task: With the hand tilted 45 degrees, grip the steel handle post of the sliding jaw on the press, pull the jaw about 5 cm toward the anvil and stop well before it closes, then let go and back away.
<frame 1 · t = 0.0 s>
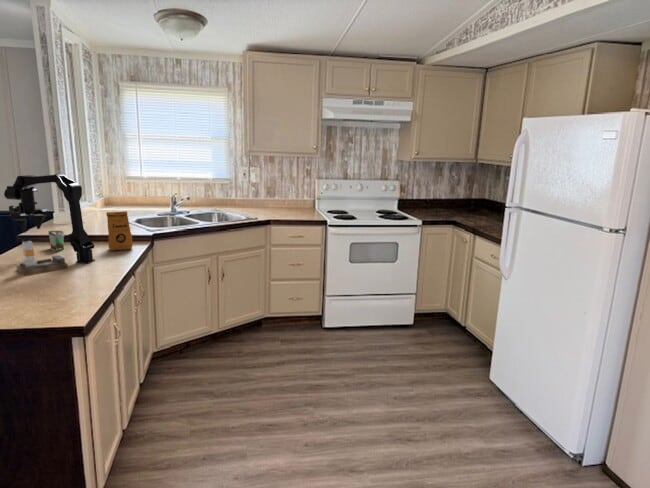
hand: (31, 230, 224), 15 cm above the countertop, tool pointing down, fingers open, 9 cm apart
food container: (59, 249, 247), on the countertop
coffee package: (121, 249, 251), on the countertop
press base: (30, 270, 207), on the countertop
sliding jaw: (28, 254, 205), point 8 cm above the countertop, slide at 0.0 cm
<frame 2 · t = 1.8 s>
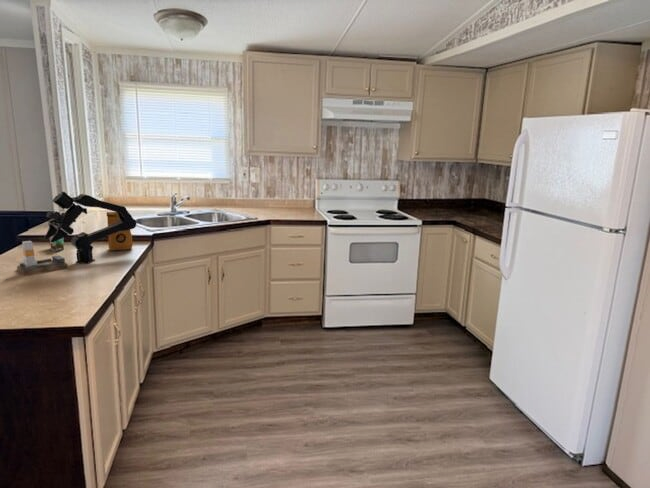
hand: (48, 240, 210), 14 cm above the countertop, tool tilted 45°, fingers open, 9 cm apart
nothing on the countertop moved.
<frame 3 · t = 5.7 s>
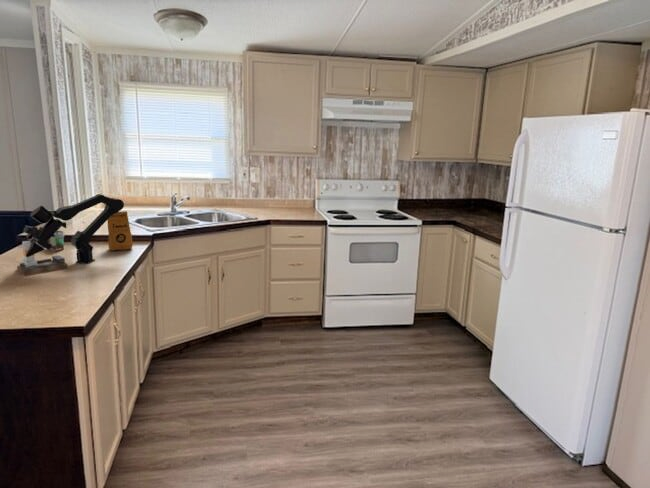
hand: (25, 255, 204), 8 cm above the countertop, tool tilted 45°, fingers closed on sliding jaw, 3 cm apart
sliding jaw: (28, 254, 205), point 8 cm above the countertop, slide at 0.0 cm, touching gripper
everything else where it was.
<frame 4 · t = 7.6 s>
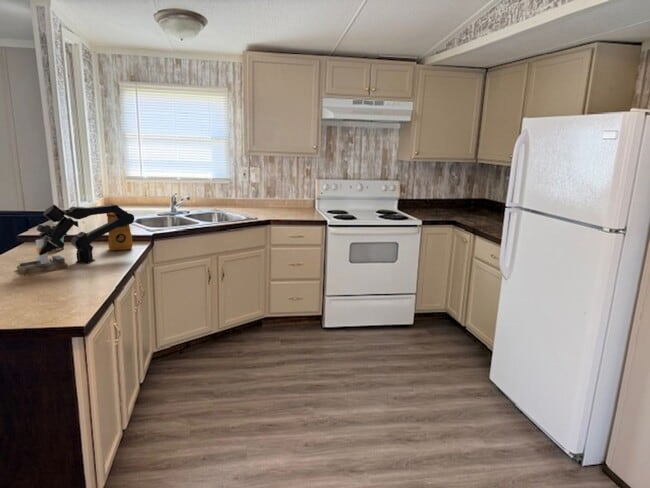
hand: (38, 253, 208), 8 cm above the countertop, tool tilted 45°, fingers closed on sliding jaw, 3 cm apart
sliding jaw: (41, 252, 209), point 8 cm above the countertop, slide at 5.4 cm, touching gripper
everything else where it was.
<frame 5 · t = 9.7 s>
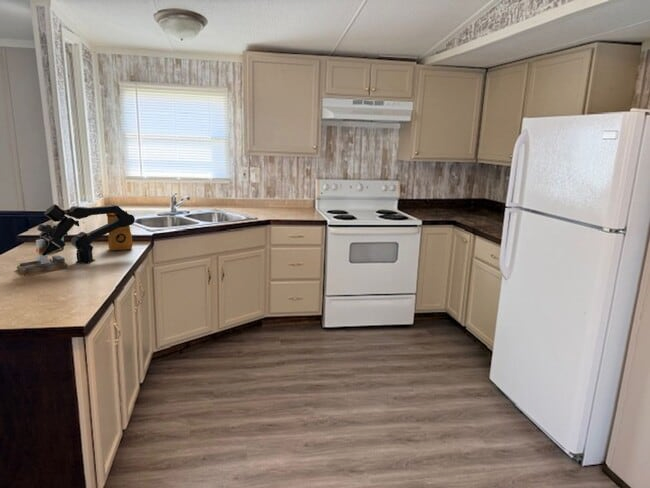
hand: (39, 253, 208), 8 cm above the countertop, tool tilted 45°, fingers open, 9 cm apart
sliding jaw: (42, 252, 209), point 8 cm above the countertop, slide at 5.5 cm
everything else where it was.
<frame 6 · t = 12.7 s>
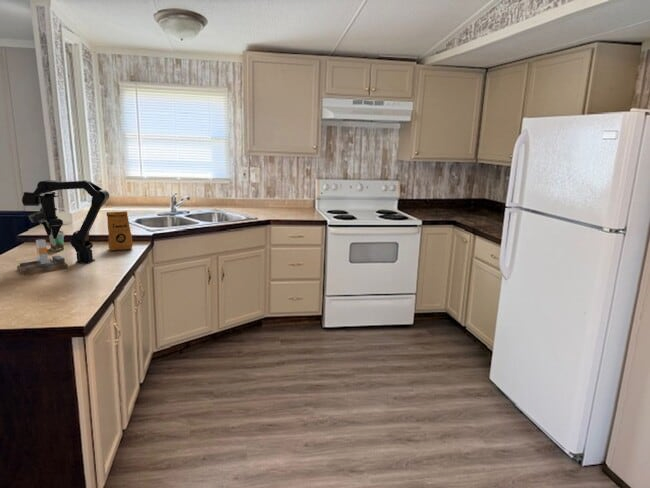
hand: (51, 237, 219), 13 cm above the countertop, tool pointing down, fingers open, 9 cm apart
nothing on the countertop moved.
at the end: sliding jaw slide at 5.5 cm; the gripper is holding nothing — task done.
